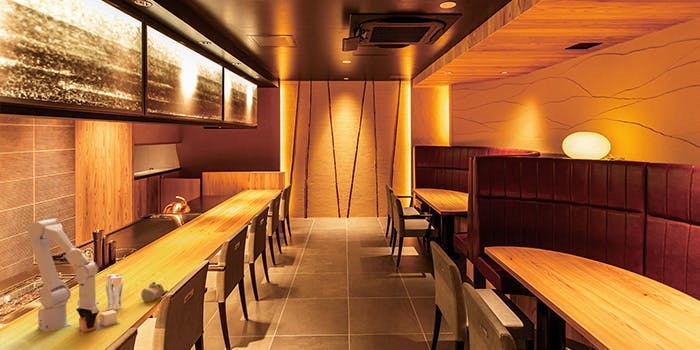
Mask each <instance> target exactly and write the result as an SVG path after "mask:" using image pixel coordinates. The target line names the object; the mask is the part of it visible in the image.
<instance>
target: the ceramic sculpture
mask: <svg viewBox="0 0 700 350" xmlns="http://www.w3.org/2000/svg"><path fill="white" fill-rule="evenodd" d="M168 291H169V290H165V289H164V287H163V285H162V284H161V283H156V282H155V281H153V282H152V283H150V284H149V285H148V287H147V288H143V289H142V290H141V294H140V295H141V297H140V298H141V299H142V301H143V302H146V303H152V302H153V301H154V300H157V299H160V298H162V297H163V296H164V295H165V294H166V293H167V292H168ZM163 298H164V297H163Z"/></svg>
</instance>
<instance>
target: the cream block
mask: <svg viewBox="0 0 700 350" xmlns="http://www.w3.org/2000/svg"><path fill="white" fill-rule="evenodd" d="M99 322H100V324H102V325H103V326H107V325H110V324H114V323H117V322H118V313H117V311H116V310H106V311H103V312H99Z"/></svg>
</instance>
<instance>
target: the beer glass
mask: <svg viewBox="0 0 700 350" xmlns="http://www.w3.org/2000/svg"><path fill="white" fill-rule="evenodd" d="M123 289H124V280H123V274H121V273H113V274H108V275H107V276H105V291H106V292H105V293H106V296H107V297H106V298H107V307H106V309H107V311H110V310H114V311H116V310H119V309H122V308H123V305H122V295H123Z"/></svg>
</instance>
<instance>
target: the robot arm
mask: <svg viewBox="0 0 700 350" xmlns="http://www.w3.org/2000/svg"><path fill="white" fill-rule="evenodd" d="M27 228H28V229H27V231H28V235H29V238H30V246H31V248H32V251H33V255H34V257H35V258H34V259H35V261H36V265H37V266H38V270H39V274H40V276H41V277H40V278H41V279H42V282H43V286H42V287H41V288H40V289H39V294H40V296H39V300H40V301H39V302H40V303H41V305H42V306H43V307H42V308H39V309H38V313H37V319H38V320H37V321H38V322H37V323H38V326H37V328H38V329H39V330H41V331H43V332H44V333H47V332H51V331H55V330H58V329H59V330H60V329H62V328H66V327H70V326H71V324H70V323H69V322H68V320H67V319H68V316H67V303H68V302H69V301H68V300H69V299H70V298H71V295H72V293H71V290H70V288H69V287H68V285H67V283H66V282H65V281H64V280H61V279H60V278H59V274H58V271H57V267H56V264H55V262H54V259H53V258H54V257H53V255H52V252H51V249H50V246H49V242H50V240H53V241H54V242H55V244H56V245H58V246H59V248H60V249H61V250H62V251H64V253H65V259H66V260H67V262H69V264H70V265H71V266H72V267H73V269H74V270H75V271H74V274H75V275H74V276H75V277H76V279H77V283H78V297H79V300H77V306H78V308H76V309H75V310H76V312H77V314H78V316H79V318H83V317H85V320H86V325H87V328H88V329H89V328H93V327H94V323H95V319H96V317H97V316H98V315H99V314H100V309H99V307H98V306H97V305H98V304H99V303H100V301H98V300H97V299H96V294H97V293H96V276H97V275H98V273H99V266H98V264H97V263H96V262H94V261H92V260H90V259H88V258H87V256H86V255H85V254H84V252H83V251H82V249H80V248H77V247H75V246H74V245H73V243H72V242H71V240H70V239H69V238H68V237H67V235H66V233H65V232H64V230H63V225H62V224H61V222H60V221H59V220H58V219H57V218H55V217H52V218H48V219H44V220H43V219H42V220H38V221H35V220H34V221H32V222H31V223H30V225H29V226H28V227H27Z"/></svg>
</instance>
